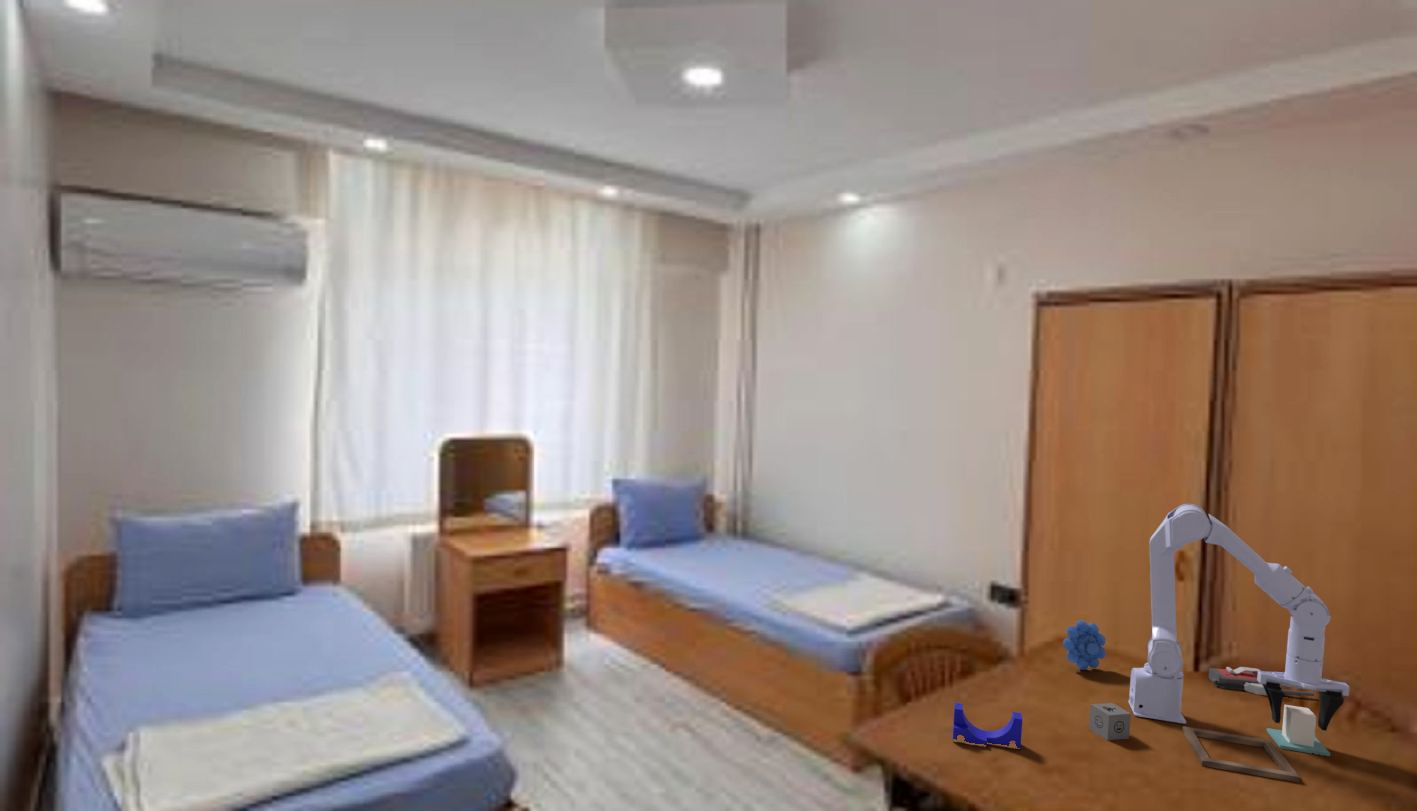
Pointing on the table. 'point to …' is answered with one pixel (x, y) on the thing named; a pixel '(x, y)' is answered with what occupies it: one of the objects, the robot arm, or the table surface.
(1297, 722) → the cream block
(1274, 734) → the mat
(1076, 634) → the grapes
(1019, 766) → the table surface
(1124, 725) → the dice cube
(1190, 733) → the brown square frame
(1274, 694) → the robot arm
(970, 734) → the blue cradle stand
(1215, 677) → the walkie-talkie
